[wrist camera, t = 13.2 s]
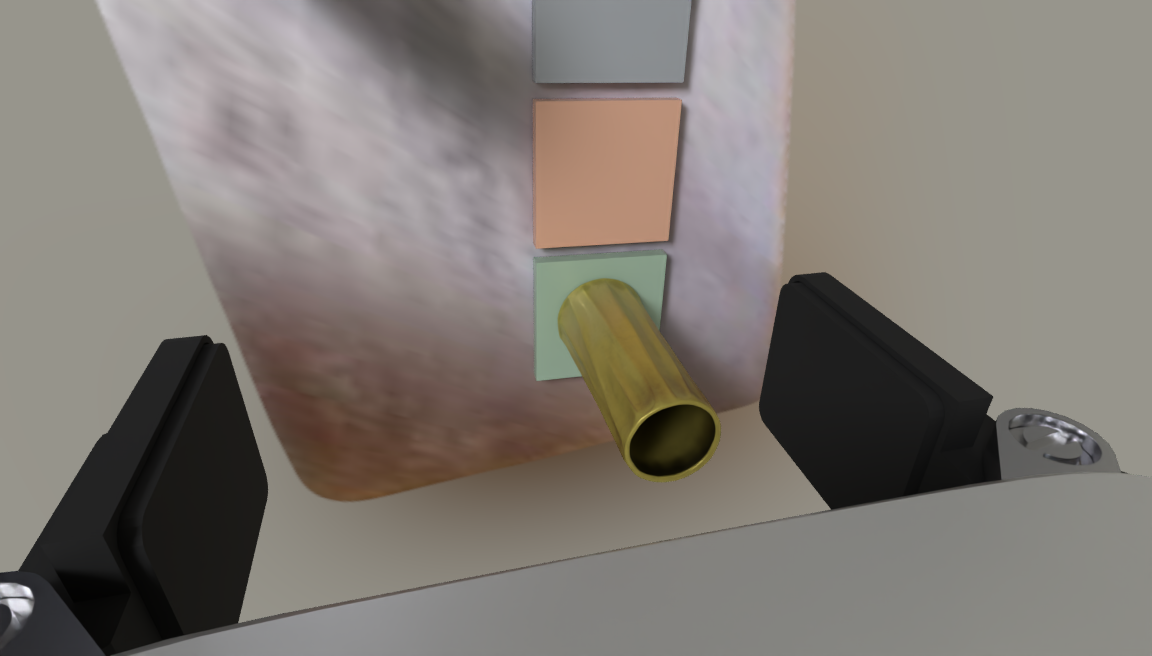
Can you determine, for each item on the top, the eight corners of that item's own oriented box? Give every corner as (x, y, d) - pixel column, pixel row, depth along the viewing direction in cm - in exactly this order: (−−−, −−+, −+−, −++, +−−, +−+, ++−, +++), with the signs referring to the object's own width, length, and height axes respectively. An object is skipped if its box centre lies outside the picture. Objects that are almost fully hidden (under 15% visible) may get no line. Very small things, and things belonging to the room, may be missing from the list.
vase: (540, 306, 43) (595, 435, 31) (619, 260, 43) (706, 371, 31) (581, 370, 47) (646, 509, 34) (654, 326, 46) (746, 451, 34)
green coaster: (533, 257, 43) (536, 263, 42) (661, 249, 45) (666, 254, 44) (533, 373, 47) (536, 380, 46) (651, 361, 49) (655, 368, 48)
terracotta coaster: (532, 98, 38) (535, 101, 37) (675, 97, 40) (681, 100, 39) (533, 243, 42) (536, 248, 42) (663, 235, 44) (668, 240, 43)
